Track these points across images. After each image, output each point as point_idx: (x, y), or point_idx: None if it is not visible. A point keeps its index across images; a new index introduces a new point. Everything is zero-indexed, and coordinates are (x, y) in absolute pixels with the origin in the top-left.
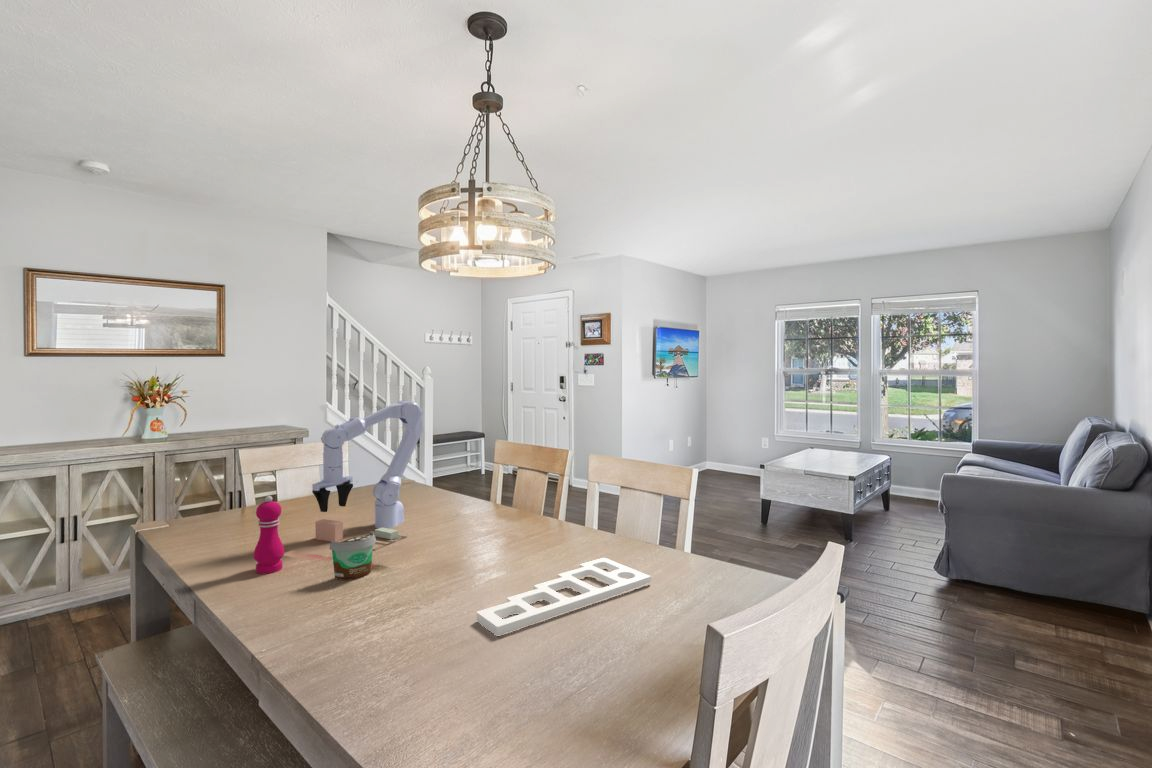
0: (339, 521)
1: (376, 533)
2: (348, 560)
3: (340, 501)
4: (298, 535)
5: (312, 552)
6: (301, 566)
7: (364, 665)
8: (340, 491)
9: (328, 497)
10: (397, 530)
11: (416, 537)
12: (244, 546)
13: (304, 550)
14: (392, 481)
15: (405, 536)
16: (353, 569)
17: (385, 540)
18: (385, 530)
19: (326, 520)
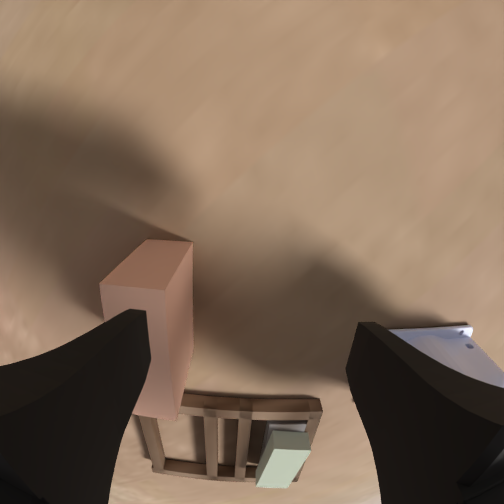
0: (173, 405)
1: (271, 443)
2: None
3: (371, 358)
4: (225, 48)
5: (73, 307)
6: (11, 352)
7: None
8: (418, 431)
9: (110, 474)
10: (287, 487)
11: (336, 466)
12: (42, 10)
13: (70, 263)
14: None
15: (297, 478)
16: None
17: (242, 465)
18: (276, 471)
19: (149, 333)
